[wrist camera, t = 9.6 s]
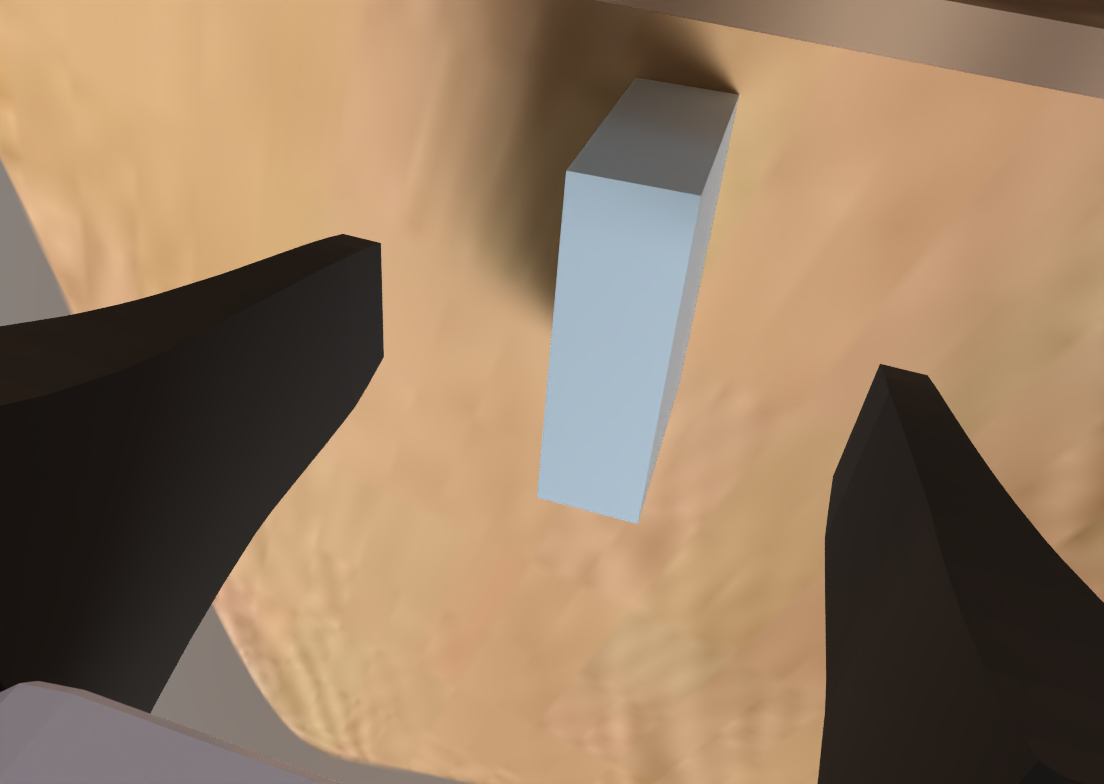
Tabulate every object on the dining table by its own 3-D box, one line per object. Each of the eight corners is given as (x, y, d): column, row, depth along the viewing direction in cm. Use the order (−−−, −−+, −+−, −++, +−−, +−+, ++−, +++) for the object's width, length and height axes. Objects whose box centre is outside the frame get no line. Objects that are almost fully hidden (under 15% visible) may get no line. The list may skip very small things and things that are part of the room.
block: (739, 93, 19) (700, 195, 14) (680, 378, 24) (637, 523, 19) (636, 76, 20) (565, 170, 15) (598, 359, 24) (536, 497, 20)
